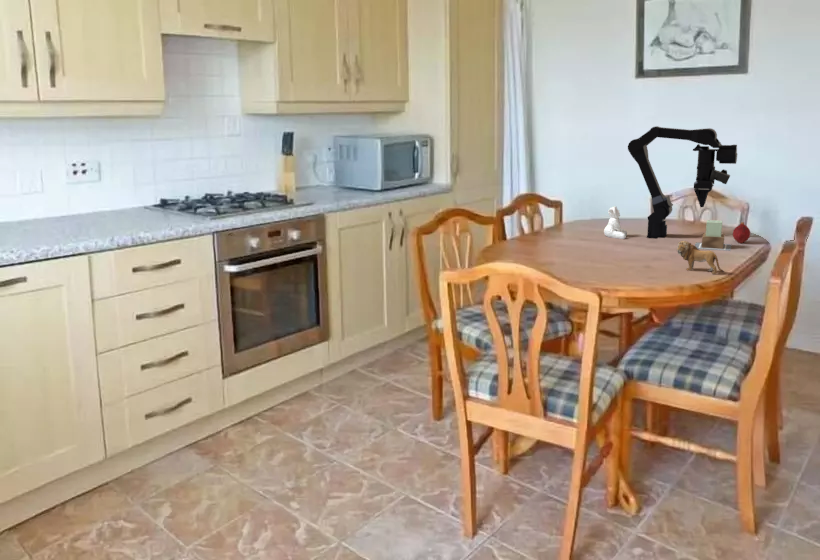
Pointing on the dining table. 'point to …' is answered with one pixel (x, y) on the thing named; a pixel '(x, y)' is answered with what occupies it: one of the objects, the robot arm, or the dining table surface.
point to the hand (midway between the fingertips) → (702, 205)
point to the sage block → (713, 228)
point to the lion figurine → (697, 256)
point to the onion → (741, 233)
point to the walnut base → (712, 241)
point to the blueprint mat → (726, 248)
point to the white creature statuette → (614, 225)
